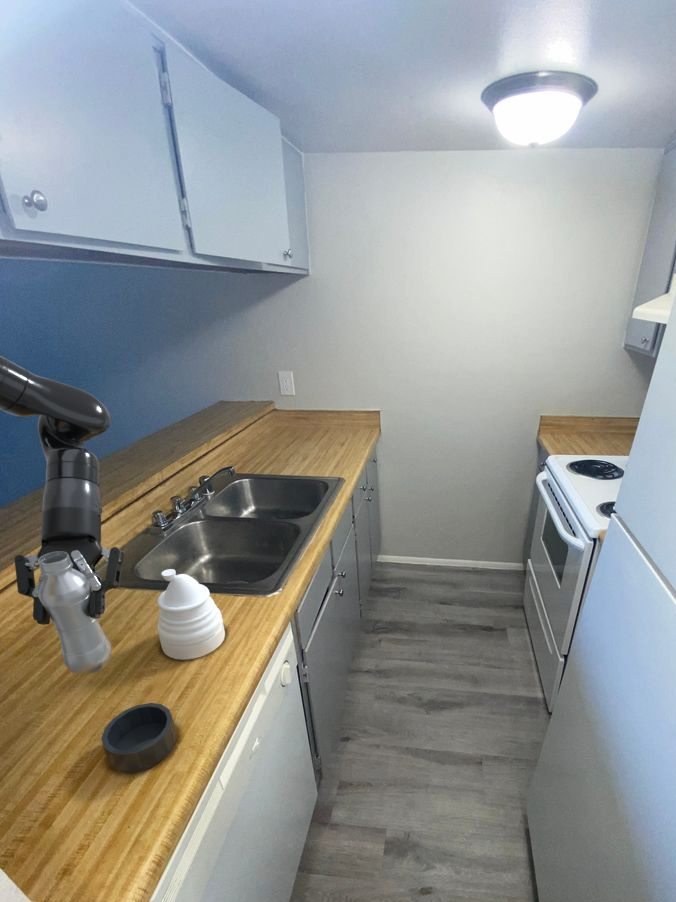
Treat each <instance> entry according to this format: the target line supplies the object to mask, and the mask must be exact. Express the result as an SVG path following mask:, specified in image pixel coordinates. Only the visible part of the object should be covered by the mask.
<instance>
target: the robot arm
mask: <svg viewBox="0 0 676 902" xmlns="http://www.w3.org/2000/svg"><path fill="white" fill-rule="evenodd" d="M0 411H2V412H5V413H7V414H9V415H11V416H15V417H20V418H22V417H23V418H24V417H31V416H39V417H38V421H37V433H38V437H39V441H40V444H41V448H42V452H43V455H44V457H45V460H46V468H45V486H44V491H43V494H42V495H43V496H42V506H41V507H42V509H41V531H40V532H41V533H40V542H41V543H40V544H41V547H40V548H39V551H38V552H37V554H33V555H27V556H25V555H21V554H19V555H16V556H15V557H14V567H15V576H16V577H15V578H16V586H17V593H18V594H19V595H22V596H25V597H29V598H32V599H33V603H32V604H33V607H32V609H33V610H32V618H33V620H34V621H36V623H37V624H38V625H42V626H44V625H46V626H47V625H50V623H51V617H50V615H49V614H48V612H47V611H46V609H45V608H44V606H43V604H42V603H41V601H40V599H39V597H38V588H39V585H40V582H41V580H42V579H43V577H44V575H43V574H42V573H41V572H40V573H41V574H40V575H39V577H38V582H37V584H36V581H35V580H36V579H35V571H36V570H37V569H38V565H39V563H38V559H39V558H40V557H41V556H43V555H45V554H48V553H51V552H56V551H64V552H67V553H68V555H69V557H70V560H71V561H72V563H73V567H72V568H73V569H75V570H77V571H79V572H81V573H82V574H83V575H84V576H85V577H86V578H87V579H88V580H89V582H90V586H91V590H92V592H90V617H91V618H93V619H97V620H98V619H101V616H102V615H104V614H105V612H106V593H107V592H108V591H111V590H112V589H118V588H119V587H120V585H121V580H122V579H121V578H122V572H123V565H124V559H125V553H124V552H123V551H122V550H121V549H120V548H118V547H117V546H113V547H111V548H103V546H102V513H103V507H102V496H101V489H100V488H101V485H100V484H101V482H100V481H101V468H100V460H99V458H98V457H97V455H96V454H95V453H94V452H92V451H90V450H88V449H86V448H83V447H84V443H86V442H88V441H90V440H91V439H94V438H96V437H98V436H101V435H102V434H104V433H105V432H107V431H108V430H109V428H110V426H111V422H112V418H111V414H110V412H109V410H108V408H107V407H106V405H105V404H104V403H103V402H102V401H101V400H100V399H98V397H96V396H94V395H93V394H92V393H89V392H88V391H86V390H84V389H81V388H78V387H76V386H72V385H70V384H67V383H64V382H60V381H57V380H54V379H51V378H48V377H44V376H40V375H37V374H35V373H33V372H32V371H29V370H28V369H26V368H24V367H22V366H20V365H18V364H17V363H15V362H13V361H11V360H9V359H7V358H6V357H4V356H2V355H0ZM103 558H104V560H105V561H106V562H107V567H106V574H105V580H102V577H101V575H100V573H99V572H98V570H97V569H96V566H97V565H98V564H99V563H100V561H101V560H102V559H103Z"/></svg>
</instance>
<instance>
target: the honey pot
mask: <svg viewBox="0 0 676 902" xmlns="http://www.w3.org/2000/svg"><path fill="white" fill-rule="evenodd" d="M161 577H162V578H163V579H164V580H165V581H167V582H169V583H168V585H167V588H166V589H165V590H164V591H163V592H162V593H161V594H159V596H158V598H157V606H158V607H159V609H160V610H159V617H158V623H157V633H158V638H159V642H160V645H161V649H162V652H163V653H164V655H166V656H167V657H169V658H172V659H175V660H181V661H182V660H183V661H185V660H193V659H194V660H195V659H197V658H201V657H204V656H206V655H209V654H210V653H212V652H213V651H215V650H217V648H219V647H220V646H221V645H222V643H223V642H224V641H225V638H226V632H225V626H224V620H223V614H222V612H221V610H220V608H218V606H217V604H216V603H215V600H214V599H213V598H212V597H211V596H210V594H211V593H210V590H209V588H208V587H207V586H205V584H201V583H200V582H199V581H197V580H196V579H195V578H194V577H192V576H190V575H189V574H186V573H179V574H177V572H176V569H173V568H167V569H165V570H162V571H161Z"/></svg>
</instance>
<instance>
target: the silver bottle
mask: <svg viewBox="0 0 676 902" xmlns="http://www.w3.org/2000/svg"><path fill="white" fill-rule="evenodd" d="M38 566H39V571H40V573H42V574H43V575H44V577H43V579H42V580H41V582H40V585H39V588H38V597H39V599H40V601H41V603H42V604H43V606H44V608H45V609H46V611H47V612H48V614H49V615H50V620H51V622H52V623H53V626H54V627H55V630H56V632H57V635H58V638H59V642H60V645H61V655H62V660H63V664H64V666H65V667H66V668H67V670H68V671H69V672H71V673H73V674H75V675H78V676H87V675H92V674H95V673H97V672H98V673H99V671H101V670H103V669H104V668H105V667H106V666H107V665H109V663H110V661H111V659H112V656H113V649H112V644H111V642H110V640H109V638H108V636H107V635H106V633H104V631H103V628H102V626H101V624H100V622H99V620H98V618H97V619H93V618H91V617H90V592H92V588H91V586H90V582H89V580H88V579H87V578H86V577H85V576H84V575H83V574H82V573H81V572H79V571H77V570H75V569H73V568H72V567H73V563H72V561H71V560H70V557H69V555H68V553H67V552H64V551H56V552H51V553H48V554H45V555H43V556H41V557H40V558H39V559H38Z"/></svg>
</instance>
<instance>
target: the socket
mask: <svg viewBox="0 0 676 902" xmlns="http://www.w3.org/2000/svg"><path fill="white" fill-rule="evenodd" d="M177 732H178V731H177V728H176V724H175V721H174V717H173V715H172V713H171V710H170V709H169V708H168V707H167V706H165V705H163V704H162V703H155V702H147V703H142V704H141V703H140V704H137V705H134V706H132V707H129V708H126V709H124V710H123V711H122V712H120V713H119V714H117V715H115V717H113V718H112V719H111V720H110V721H109V723H108V724H107V725H106V726H105V728H104V730H103V732H102V735H101V738H100V740H101V744H102V746H103V750H104V752H105V755H106V757H107V760H108V762H109V765H111V767H112V768H113V769H114V770H116V771H118V772H121V773H125V774H126V773H127V774H131V773H133V774H134V773H139V772H143V771H146V770H148V769H150V768H152V767H154V766H156V765H158V764H159V763H161V762H162V761H163V760H164V759H166V757H168V756H169V754H170V753H171V752H172V751H173V749H174V747H175V745H176V743H177V739H178V738H177V737H178V735H177Z"/></svg>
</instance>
